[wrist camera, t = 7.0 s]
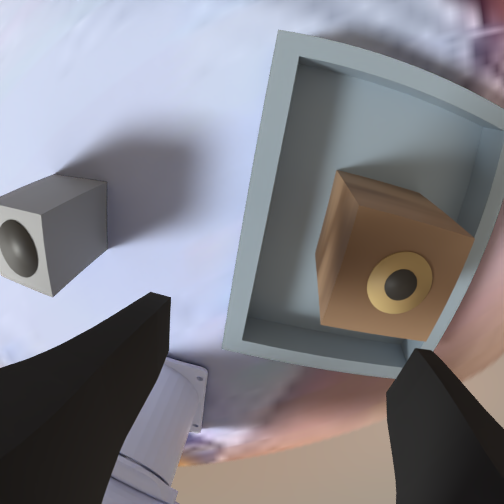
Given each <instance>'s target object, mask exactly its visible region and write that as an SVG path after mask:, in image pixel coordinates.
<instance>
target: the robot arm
mask: <svg viewBox="0 0 504 504" xmlns="http://www.w3.org/2000/svg"><path fill="white" fill-rule="evenodd" d="M170 307H171V297H167V296H164V295H160V294H156V293H153V292H150V293H148V294H147V295H145V296H143V297H142V298H140V299H138V300H137V301H135V302H133V303H132V304H130V305H129V306H127V307H126V308H124V309H122V310H121V311H119V312H117V313H116V314H114V315H113V316H111V317H109V318H108V319H106V320H104V321H103V322H101V323H99V324H98V325H96V326H94V327H93V328H91V329H89V330H87V331H85V332H83V333H81V334H80V335H78V336H76V337H74V338H72V339H70V340H68V341H67V342H65V343H63V344H61V345H59V346H57V347H54V348H52V349H50V350H48V351H45V352H43V353H41V354H38V355H36V356H34V357H31V358H29V359H26V360H23V361H20V362H17V363H14V364H11V365H8V366H5V367H2V368H0V504H179V503H177V502H175V500H176V497H177V494H178V491H177V490H175V489H173V488H171V484H172V481H173V478H174V475H175V472H176V469H177V466H178V463H179V460H180V458H181V455H182V452H183V449H184V446H185V443H186V440H187V437H188V434H189V432H193V433H200V432H201V427H202V419H203V410H204V401H205V393H206V385H207V377H208V371H207V370H206V369H205V368H203V367H200V366H196V365H193V364H189V363H185V362H182V361H178V360H175V359H171V358H168V357H167V354H168V351H169V331H170ZM386 397H387V423H388V430H389V436H390V443H391V449H392V456H393V464H394V470H395V479H396V492H397V494H396V504H504V429H503V428H502V427H501V426H500V425H499V424H498V423H497V422H496V421H495V419H494V418H493V417H492V416H491V415H490V414H489V413H488V412H487V411H486V410H485V409H484V408H483V407H482V405H481V404H480V403H479V402H478V401H477V400H476V399H475V397H474V396H473V395H472V394H471V393H470V392H469V391H468V389H467V388H466V387H465V386H464V385H463V384H462V382H461V381H460V380H459V379H458V378H457V377H456V376H455V374H454V373H453V372H452V371H451V370H450V369H449V368H448V367H447V365H446V364H445V363H444V362H443V361H442V360H441V359H440V358H439V357H438V356H437V355H436V354H435V353H434V352H433V351H431V350H427V349H420V348H415V349H414V350H413V352H412V354H411V355H410V357H409V359H408V360H407V362H406V364H405V365H404V367H403V368H402V370H401V371H400V373H399V375H398V376H397V378H396V379H395V381H394V382H393V384H392V385H391V387H390V388H389V390H388V391H387V392H386Z"/></svg>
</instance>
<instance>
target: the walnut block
mask: <svg viewBox="0 0 504 504" xmlns="http://www.w3.org/2000/svg"><path fill="white" fill-rule="evenodd" d="M474 240H475V238H474V237H473V236H471V235H470V234H469V233H468V232H467V231H466V230H465V229H463V228H462V227H461V226H460V225H459V224H458V223H456V222H455V221H454V220H453V219H452V218H450V217H449V216H448V215H447V214H446V213H444V212H443V211H442V210H441V209H439V208H438V207H437V206H436V205H434V204H433V203H432V202H431V201H429V200H428V199H427V198H425V197H424V196H423V195H421V194H420V193H418V192H415V191H412V190H408V189H405V188H402V187H398V186H395V185H392V184H388V183H385V182H381V181H378V180H374V179H370V178H367V177H363V176H359V175H355V174H351V173H347V172H343V171H339V170H336V173H335V178H334V182H333V186H332V190H331V194H330V198H329V202H328V206H327V210H326V214H325V218H324V222H323V225H322V229H321V233H320V237H319V240H318V244H317V248H316V251H315V260H316V271H317V283H318V295H319V309H320V324H321V325H324V326H330V327H335V328H341V329H347V330H353V331H358V332H364V333H371V334H377V335H383V336H390V337H396V338H403V339H410V340H417V341H425V342H426V341H427V339H428V337H429V336H430V334H431V332H432V330H433V328H434V326H435V325H436V323H437V321H438V319H439V317H440V315H441V313H442V311H443V309H444V307H445V305H446V303H447V301H448V299H449V297H450V295H451V293H452V291H453V289H454V287H455V285H456V283H457V280H458V278H459V276H460V274H461V272H462V269H463V267H464V265H465V262H466V260H467V258H468V255H469V253H470V250H471V248H472V245H473V243H474Z"/></svg>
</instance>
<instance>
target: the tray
mask: <svg viewBox="0 0 504 504" xmlns="http://www.w3.org/2000/svg"><path fill="white" fill-rule="evenodd" d="M336 170H339V171H343V172H347V173H351V174H355V175H359V176H363V177H367V178H370V179H374V180H378V181H381V182H385V183H388V184H392V185H395V186H398V187H402V188H405V189H408V190H412V191H415V192H418V193H420V194H421V195H423V196H424V197H425V198H427V199H428V200H429V201H431V202H432V203H433V204H434V205H436V206H437V207H438V208H439V209H441V210H442V211H443V212H444V213H446V214H447V215H448V216H449V217H450V218H452V219H453V220H454V221H455V222H456V223H458V224H459V225H460V226H461V227H462V228H463V229H465V230H466V231H467V232H468V233H469V234H470V235H471V236H473V237H474V238H475V240H474V243H473V245H472V248H471V250H470V253H469V255H468V258H467V260H466V262H465V265H464V267H463V269H462V272H461V274H460V276H459V278H458V280H457V283H456V285H455V287H454V289H453V291H452V293H451V295H450V297H449V299H448V301H447V303H446V305H445V307H444V309H443V311H442V313H441V315H440V317H439V319H438V321H437V323H436V325H435V326H434V328H433V330H432V332H431V334H430V336H429V337H428V339H427V341H426V342H425V341H417V340H410V339H403V338H396V337H390V336H383V335H377V334H371V333H364V332H358V331H353V330H347V329H341V328H335V327H330V326H324V325H321V324H320V309H319V295H318V283H317V271H316V260H315V251H316V248H317V244H318V240H319V237H320V233H321V229H322V225H323V222H324V218H325V214H326V210H327V206H328V202H329V198H330V194H331V190H332V186H333V182H334V178H335V173H336ZM503 199H504V109H503V108H501V107H499V106H498V105H496V104H494V103H492V102H490V101H489V100H487V99H485V98H483V97H481V96H479V95H477V94H476V93H474V92H472V91H470V90H468V89H466V88H464V87H462V86H460V85H457V84H455V83H453V82H451V81H449V80H447V79H444V78H442V77H440V76H438V75H435V74H433V73H431V72H428V71H426V70H423V69H421V68H418V67H416V66H413V65H410V64H408V63H405V62H402V61H400V60H397V59H394V58H391V57H388V56H385V55H382V54H379V53H376V52H373V51H369V50H366V49H363V48H359V47H356V46H352V45H348V44H345V43H341V42H337V41H333V40H328V39H324V38H320V37H315V36H310V35H305V34H300V33H295V32H289V31H283V30H278V34H277V39H276V44H275V49H274V54H273V59H272V64H271V70H270V75H269V80H268V85H267V91H266V96H265V101H264V107H263V112H262V117H261V123H260V128H259V134H258V139H257V144H256V150H255V155H254V161H253V167H252V172H251V178H250V183H249V189H248V195H247V200H246V206H245V212H244V217H243V223H242V229H241V235H240V240H239V246H238V252H237V258H236V264H235V270H234V276H233V282H232V288H231V294H230V300H229V306H228V312H227V318H226V324H225V330H224V337H223V343H222V349H224V350H228V351H232V352H237V353H241V354H246V355H250V356H255V357H260V358H264V359H269V360H274V361H279V362H284V363H290V364H295V365H301V366H306V367H312V368H318V369H324V370H330V371H337V372H344V373H351V374H358V375H366V376H374V377H382V378H392V379H396V378H397V376H398V375H399V373H400V371H401V370H402V368H403V367H404V365H405V364H406V362H407V360H408V359H409V357H410V355H411V354H412V352H413V350H414V349H415V348H420V349H427V350H431V351H434V349H435V347H436V346H437V344H438V343H439V341H440V339H441V337H442V336H443V334H444V332H445V331H446V329H447V327H448V325H449V323H450V322H451V320H452V318H453V316H454V314H455V312H456V311H457V309H458V307H459V305H460V303H461V301H462V299H463V297H464V295H465V293H466V291H467V289H468V287H469V285H470V283H471V280H472V278H473V276H474V274H475V272H476V270H477V267H478V265H479V263H480V260H481V258H482V256H483V253H484V251H485V249H486V246H487V244H488V241H489V239H490V236H491V233H492V231H493V228H494V225H495V223H496V220H497V217H498V214H499V211H500V208H501V205H502V202H503Z"/></svg>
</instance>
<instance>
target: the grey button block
mask: <svg viewBox="0 0 504 504" xmlns="http://www.w3.org/2000/svg"><path fill="white" fill-rule="evenodd" d="M107 249H108V248H107V182H104V181H98V180H91V179H84V178H78V177H70V176H63V175H56V174H53V175H51V176H48V177H46V178H43V179H40V180H38V181H35V182H33V183H31V184H28V185H26V186H23V187H21V188H19V189H16V190H14V191H12V192H10V193H7V194H5V195H3V196H1V197H0V273H1V276H3V277H5V278H7V279H10V280H12V281H14V282H17V283H19V284H21V285H24V286H26V287H28V288H31V289H33V290H35V291H38V292H40V293H43V294H45V295H48V296H50V297H54V296H55V295H56V294H57V293H58V292H59V291H60V290H61V289H62V288H64V287H65V286H66V285H67V284H68V283H69V282H70V281H71V280H72V279H74V278H75V277H76V276H77V275H78V274H79V273H80V272H81V271H83V270H84V269H85V268H86V267H87V266H88V265H90V264H91V263H92V262H93V261H94V260H95V259H97V258H98V257H99V256H100V255H101V254H102V253H104V252H105V251H106V250H107Z"/></svg>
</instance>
